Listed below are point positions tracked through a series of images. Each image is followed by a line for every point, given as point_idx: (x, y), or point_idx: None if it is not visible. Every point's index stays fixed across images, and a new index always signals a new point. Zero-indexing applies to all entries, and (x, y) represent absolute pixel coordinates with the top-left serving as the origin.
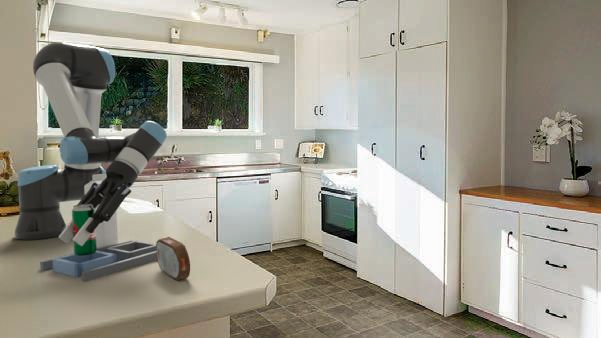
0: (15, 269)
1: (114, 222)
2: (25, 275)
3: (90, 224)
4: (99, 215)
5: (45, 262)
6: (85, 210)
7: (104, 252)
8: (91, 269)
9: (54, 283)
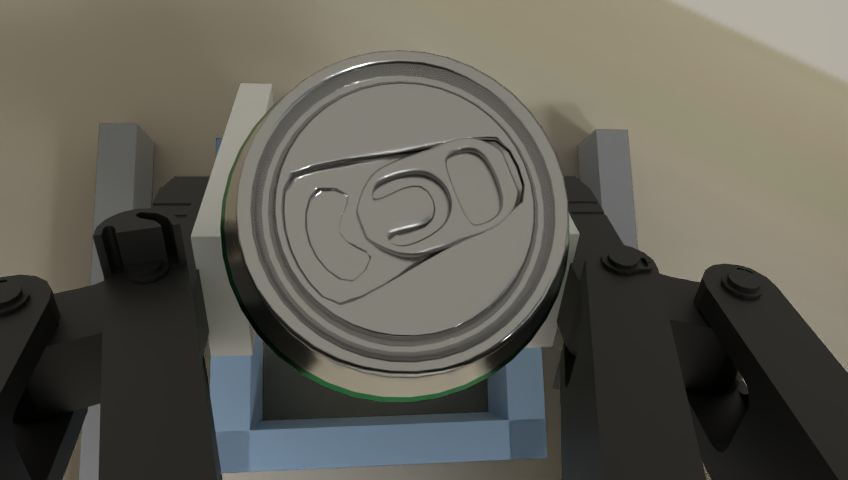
0: (739, 80)
1: None
2: (564, 45)
3: (186, 219)
4: (31, 278)
5: (594, 147)
6: (240, 160)
7: (363, 457)
8: (128, 191)
9: (261, 40)
